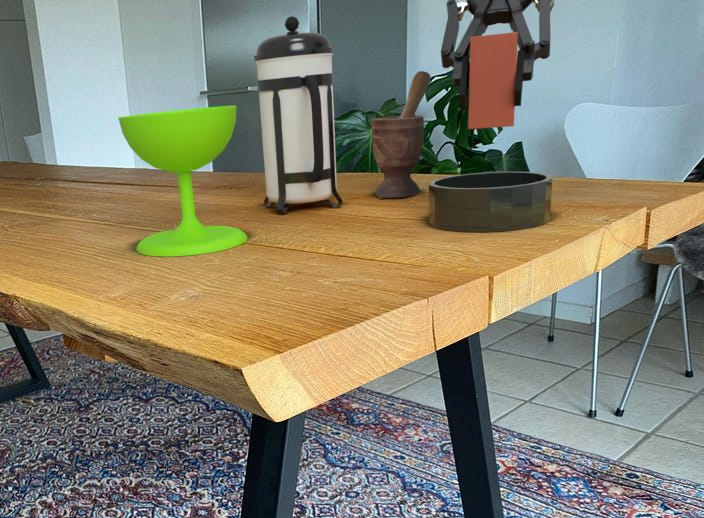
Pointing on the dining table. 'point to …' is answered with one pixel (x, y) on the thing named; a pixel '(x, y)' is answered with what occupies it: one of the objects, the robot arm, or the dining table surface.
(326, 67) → the coffee press
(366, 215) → the dining table surface
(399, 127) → the mortar and pestle
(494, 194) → the bowl
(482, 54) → the block
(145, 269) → the dining table surface
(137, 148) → the wineglass
